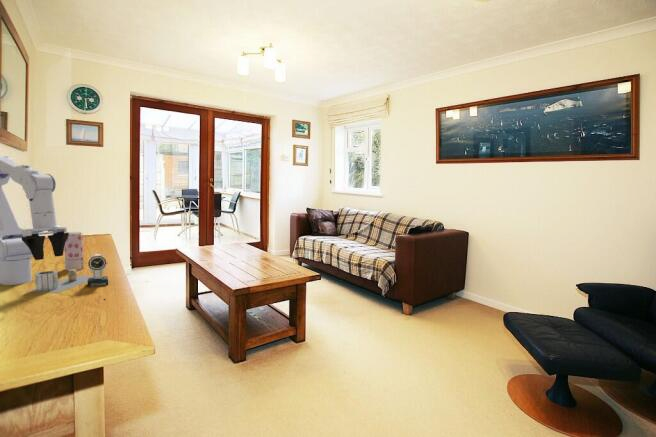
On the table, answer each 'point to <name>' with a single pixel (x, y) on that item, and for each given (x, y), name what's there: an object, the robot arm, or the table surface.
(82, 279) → the board
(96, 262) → the watch
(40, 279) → the gray hollow cylinder
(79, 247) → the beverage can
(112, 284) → the table surface
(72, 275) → the post
